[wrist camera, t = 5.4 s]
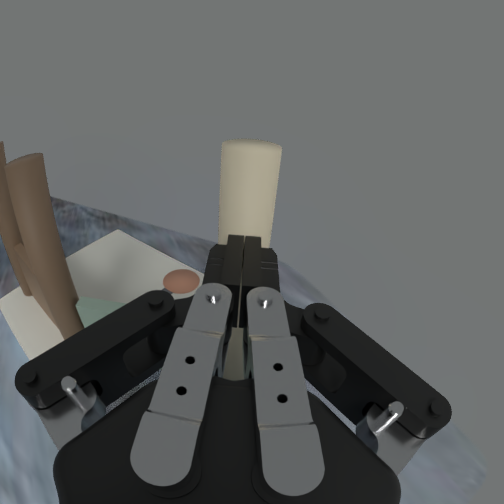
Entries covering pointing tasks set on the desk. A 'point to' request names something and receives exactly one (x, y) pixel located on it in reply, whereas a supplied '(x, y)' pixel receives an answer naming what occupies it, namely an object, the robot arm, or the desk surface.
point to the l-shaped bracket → (229, 222)
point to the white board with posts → (69, 263)
